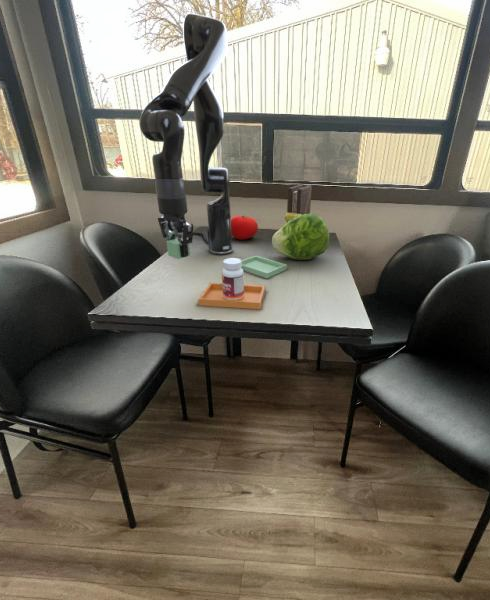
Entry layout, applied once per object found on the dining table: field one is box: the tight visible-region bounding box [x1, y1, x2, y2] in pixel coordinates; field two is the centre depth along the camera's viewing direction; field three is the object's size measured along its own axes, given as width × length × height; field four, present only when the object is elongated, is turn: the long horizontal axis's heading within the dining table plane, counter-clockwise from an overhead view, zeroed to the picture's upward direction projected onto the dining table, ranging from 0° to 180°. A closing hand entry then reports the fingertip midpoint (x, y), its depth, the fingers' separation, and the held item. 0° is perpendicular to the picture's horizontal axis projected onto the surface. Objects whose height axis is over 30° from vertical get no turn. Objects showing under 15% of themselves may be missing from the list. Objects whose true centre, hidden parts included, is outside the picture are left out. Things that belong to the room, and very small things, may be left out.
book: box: [284, 184, 313, 223], centre depth 144 cm, size 22×8×25 cm, turn 160°
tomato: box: [231, 215, 259, 241], centre depth 144 cm, size 12×14×11 cm
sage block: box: [166, 238, 191, 260], centre depth 88 cm, size 4×4×4 cm
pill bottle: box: [221, 257, 245, 300], centre depth 86 cm, size 6×6×11 cm
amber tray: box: [197, 282, 266, 310], centre depth 88 cm, size 18×12×2 cm, turn 87°
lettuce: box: [271, 213, 330, 261], centre depth 120 cm, size 19×23×18 cm
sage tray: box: [240, 255, 288, 279], centre depth 111 cm, size 16×12×2 cm
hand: (179, 254), depth 89 cm, fingers closed on sage block, 4 cm apart
